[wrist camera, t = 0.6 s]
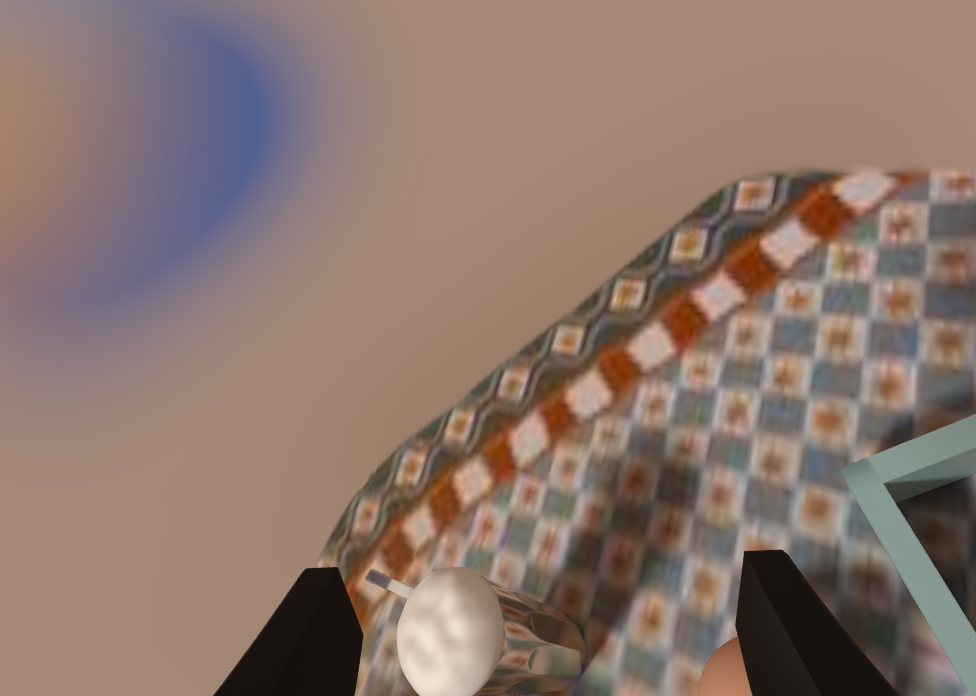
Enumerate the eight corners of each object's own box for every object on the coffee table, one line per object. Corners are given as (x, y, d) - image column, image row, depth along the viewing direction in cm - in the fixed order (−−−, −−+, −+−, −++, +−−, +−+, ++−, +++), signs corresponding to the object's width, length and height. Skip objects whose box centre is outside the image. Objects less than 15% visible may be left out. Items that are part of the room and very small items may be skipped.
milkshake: (534, 567, 31) (401, 520, 24) (619, 639, 27) (491, 610, 20) (484, 648, 31) (333, 626, 24) (563, 733, 27) (413, 737, 20)
